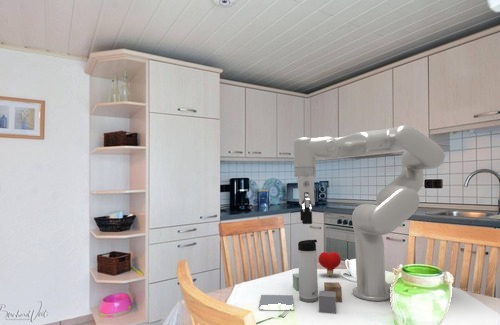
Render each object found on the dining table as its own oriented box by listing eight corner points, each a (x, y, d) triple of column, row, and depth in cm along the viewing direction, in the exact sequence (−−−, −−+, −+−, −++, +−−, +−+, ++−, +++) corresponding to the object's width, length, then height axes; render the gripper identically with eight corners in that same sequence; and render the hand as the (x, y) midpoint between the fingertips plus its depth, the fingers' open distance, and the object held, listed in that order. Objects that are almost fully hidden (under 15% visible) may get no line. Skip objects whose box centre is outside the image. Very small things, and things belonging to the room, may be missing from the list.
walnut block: (339, 297, 111) (338, 282, 111) (341, 302, 106) (341, 287, 106) (324, 297, 111) (324, 282, 111) (326, 302, 106) (326, 287, 106)
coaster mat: (292, 298, 110) (292, 295, 110) (294, 310, 99) (294, 307, 99) (261, 297, 111) (261, 294, 111) (258, 310, 100) (258, 307, 100)
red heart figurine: (320, 278, 132) (319, 254, 132) (317, 274, 138) (316, 250, 139) (343, 278, 131) (342, 253, 132) (339, 273, 138) (338, 250, 139)
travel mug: (319, 302, 105) (317, 241, 107) (299, 301, 107) (297, 241, 108) (318, 296, 112) (317, 238, 113) (299, 295, 113) (298, 238, 114)
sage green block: (305, 286, 123) (305, 272, 123) (310, 290, 118) (309, 276, 118) (293, 287, 122) (292, 273, 123) (297, 291, 117) (296, 277, 118)
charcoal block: (336, 307, 101) (335, 291, 102) (335, 314, 97) (335, 297, 97) (320, 306, 103) (319, 290, 103) (319, 312, 98) (318, 295, 98)
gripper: (318, 171, 103) (320, 225, 102) (313, 173, 120) (314, 219, 119) (295, 172, 104) (296, 225, 103) (293, 173, 121) (294, 219, 120)
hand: (306, 222), depth 111 cm, fingers open, 9 cm apart
